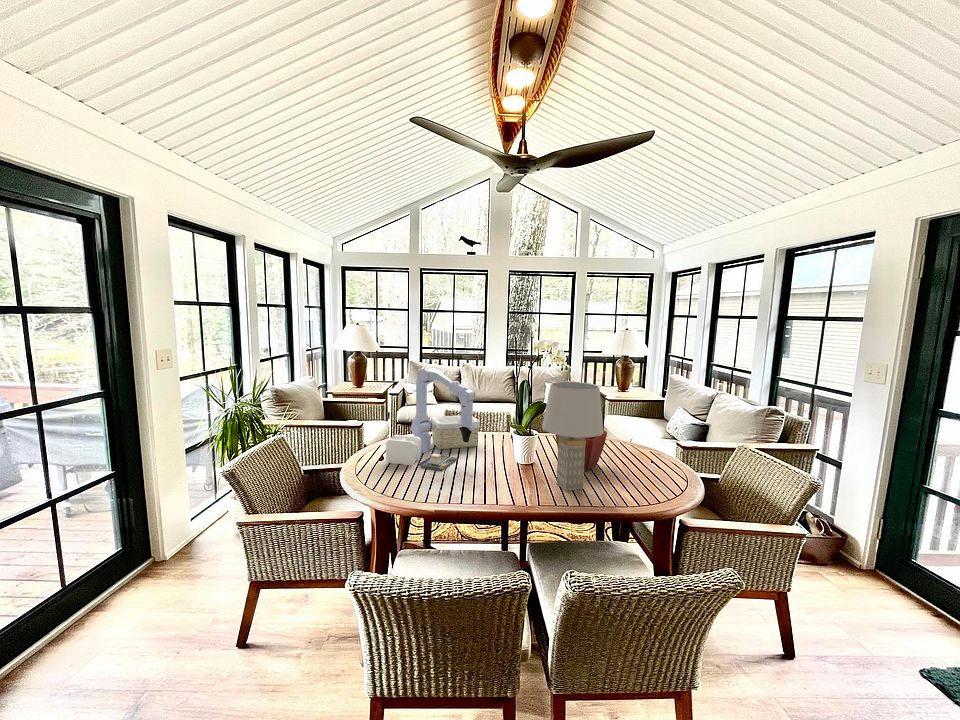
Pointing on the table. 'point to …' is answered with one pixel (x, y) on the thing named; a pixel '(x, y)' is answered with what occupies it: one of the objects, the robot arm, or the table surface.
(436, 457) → the white and orange block
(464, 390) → the robot arm
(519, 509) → the table surface
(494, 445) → the table surface
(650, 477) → the table surface
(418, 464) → the cords
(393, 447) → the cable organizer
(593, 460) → the plant pot
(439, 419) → the storage basket
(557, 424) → the lamp
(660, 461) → the table surface
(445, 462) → the panel
